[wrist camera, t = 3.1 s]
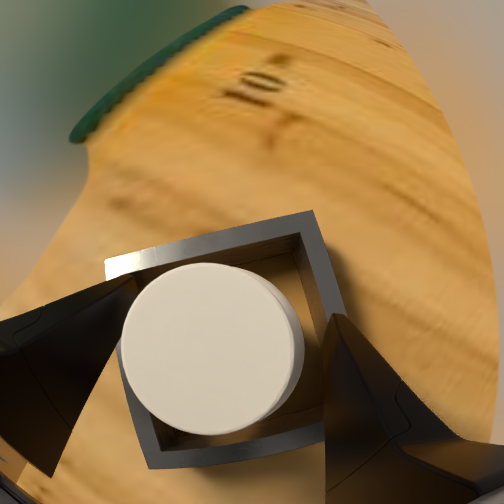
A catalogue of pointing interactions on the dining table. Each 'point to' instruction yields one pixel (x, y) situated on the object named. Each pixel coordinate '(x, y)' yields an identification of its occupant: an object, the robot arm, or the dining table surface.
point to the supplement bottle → (212, 348)
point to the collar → (230, 253)
